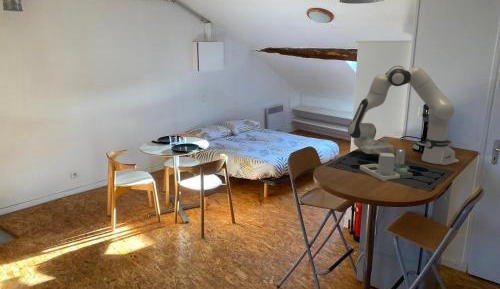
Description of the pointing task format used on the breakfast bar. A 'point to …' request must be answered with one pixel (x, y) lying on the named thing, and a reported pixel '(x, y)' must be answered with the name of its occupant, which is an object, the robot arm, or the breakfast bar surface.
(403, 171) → the button
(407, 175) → the button housing
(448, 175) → the breakfast bar surface
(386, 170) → the supplement box
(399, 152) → the cylinder
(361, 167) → the white open frame
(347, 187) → the breakfast bar surface
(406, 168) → the tray
